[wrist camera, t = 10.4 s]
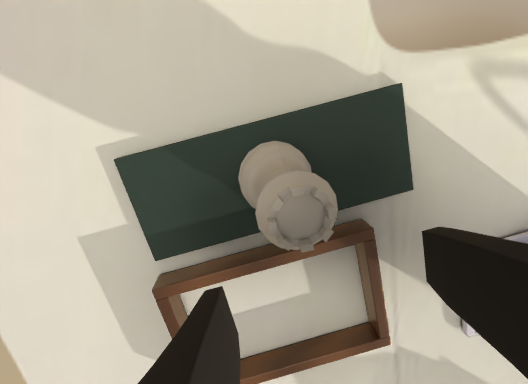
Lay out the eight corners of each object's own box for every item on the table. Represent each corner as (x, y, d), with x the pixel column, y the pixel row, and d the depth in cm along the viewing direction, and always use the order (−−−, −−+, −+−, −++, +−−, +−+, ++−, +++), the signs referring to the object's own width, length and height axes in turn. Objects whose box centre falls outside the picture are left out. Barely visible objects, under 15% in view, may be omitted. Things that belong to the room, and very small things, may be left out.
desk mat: (398, 83, 17) (402, 82, 17) (409, 188, 19) (413, 189, 19) (116, 158, 17) (113, 159, 16) (156, 258, 19) (155, 261, 18)
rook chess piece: (237, 140, 17) (238, 159, 9) (309, 139, 17) (368, 157, 10) (239, 210, 18) (241, 279, 10) (306, 207, 18) (357, 272, 11)
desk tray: (361, 218, 19) (374, 227, 18) (379, 327, 22) (391, 344, 20) (158, 274, 19) (151, 290, 17) (201, 378, 22) (198, 401, 20)
